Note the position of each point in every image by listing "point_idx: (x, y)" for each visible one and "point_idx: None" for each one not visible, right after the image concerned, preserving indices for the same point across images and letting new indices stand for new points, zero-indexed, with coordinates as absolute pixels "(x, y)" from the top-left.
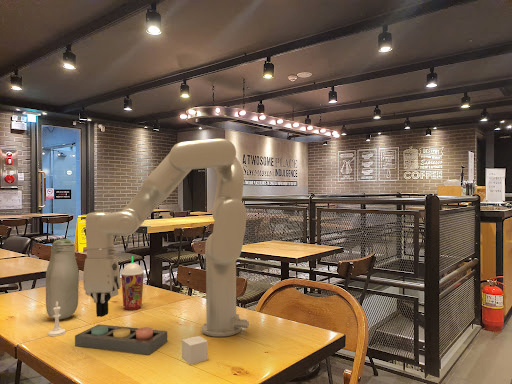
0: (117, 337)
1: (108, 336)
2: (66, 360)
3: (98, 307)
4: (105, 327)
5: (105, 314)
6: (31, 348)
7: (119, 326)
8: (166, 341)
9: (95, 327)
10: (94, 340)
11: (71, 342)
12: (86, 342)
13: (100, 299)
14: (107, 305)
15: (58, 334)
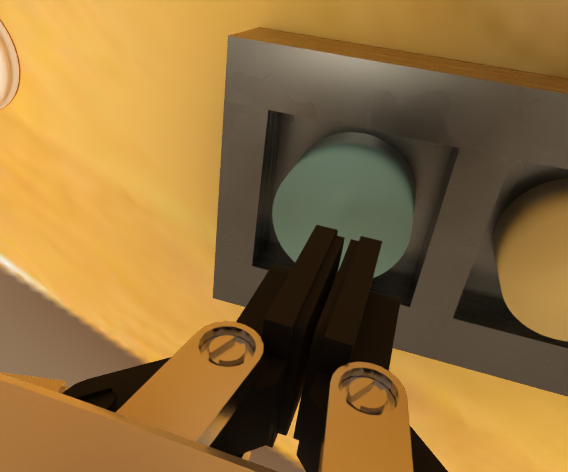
0: (565, 349)
1: (475, 326)
2: None
3: (297, 402)
4: (375, 191)
5: (371, 283)
6: (46, 281)
7: (486, 83)
8: None
9: (282, 192)
10: None
11: (177, 204)
12: None
13: (257, 421)
14: (387, 359)
15: (6, 94)
